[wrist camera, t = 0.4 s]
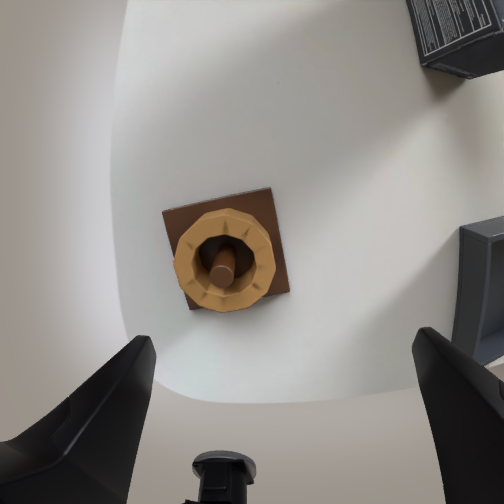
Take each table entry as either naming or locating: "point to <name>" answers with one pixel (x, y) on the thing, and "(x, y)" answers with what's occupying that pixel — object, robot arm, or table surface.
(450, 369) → the robot arm
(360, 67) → the table surface
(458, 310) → the tray
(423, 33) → the small box
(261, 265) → the tape
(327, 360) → the table surface
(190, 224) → the wooden peg board
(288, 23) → the table surface
